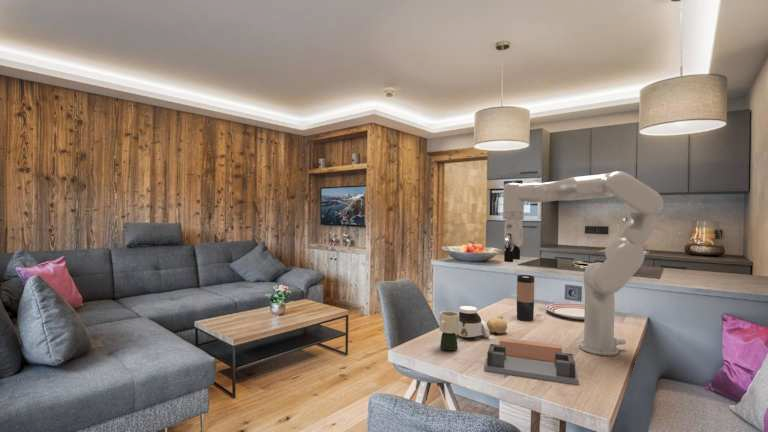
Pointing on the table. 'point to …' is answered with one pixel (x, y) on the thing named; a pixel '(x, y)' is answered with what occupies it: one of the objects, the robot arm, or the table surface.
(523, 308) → the travel mug
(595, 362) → the table surface
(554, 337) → the table surface
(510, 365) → the board
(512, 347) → the slat
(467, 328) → the spread jar
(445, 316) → the character mug
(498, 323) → the onion
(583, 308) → the dinner plate
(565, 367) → the end caps
